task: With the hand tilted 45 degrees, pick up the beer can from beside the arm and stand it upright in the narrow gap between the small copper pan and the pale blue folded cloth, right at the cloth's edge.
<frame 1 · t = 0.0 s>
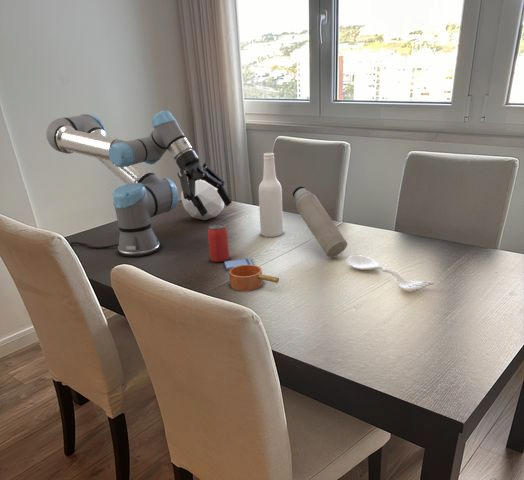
hand: (217, 209, 171), 15 cm above the table, tool tilted 35°, fingers open, 13 cm apart
thermos bottle: (337, 249, 165), point 3 cm above the table
pan: (246, 284, 152), on the table
spoon: (384, 278, 151), on the table
alcohol: (271, 234, 194), on the table
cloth: (238, 265, 166), on the table
geometric orb: (205, 218, 217), on the table
beer can: (220, 260, 172), on the table
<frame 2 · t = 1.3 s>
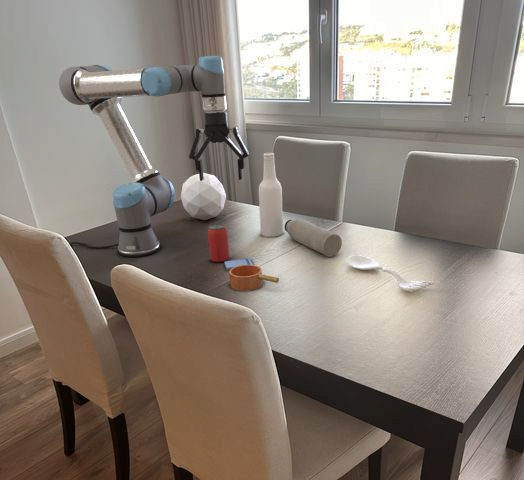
hand: (221, 179, 169), 25 cm above the table, tool pointing down, fingers open, 13 cm apart
thermos bottle: (332, 245, 167), point 4 cm above the table
everything else where it was.
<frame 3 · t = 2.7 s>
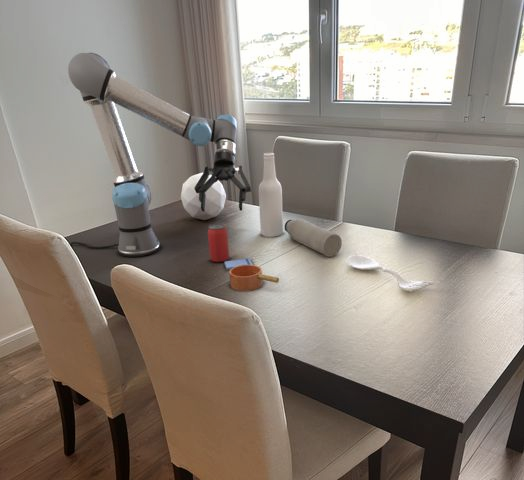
hand: (221, 209, 173), 15 cm above the table, tool tilted 45°, fingers open, 13 cm apart
nothing on the table moved.
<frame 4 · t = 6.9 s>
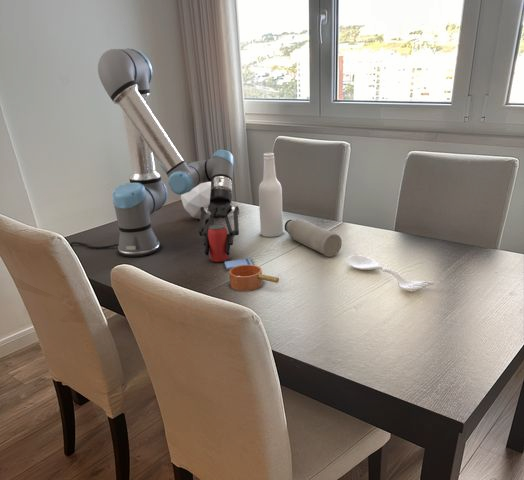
hand: (217, 253, 167), 4 cm above the table, tool tilted 45°, fingers closed on beer can, 7 cm apart
beer can: (220, 260, 172), on the table, touching gripper
everything else where it was.
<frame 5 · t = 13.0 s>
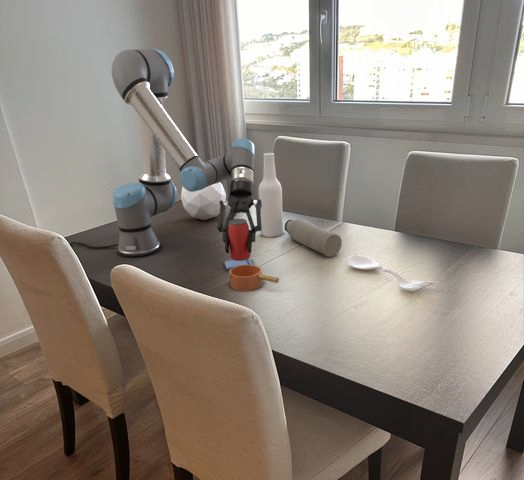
hand: (238, 250, 153), 9 cm above the table, tool tilted 45°, fingers closed on beer can, 7 cm apart
beer can: (240, 258, 158), point 5 cm above the table, touching gripper
everything else where it was.
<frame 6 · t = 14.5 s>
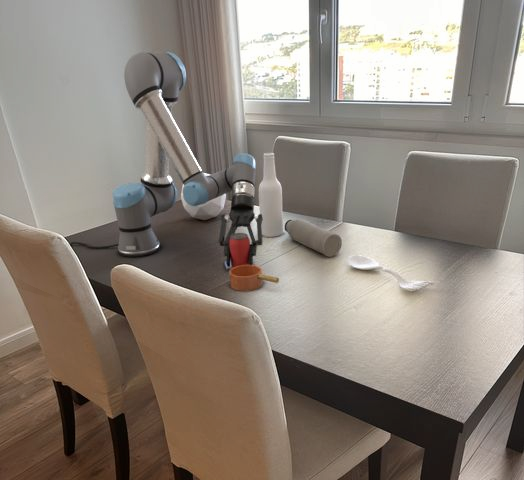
hand: (239, 264, 155), 4 cm above the table, tool tilted 45°, fingers closed on beer can, 7 cm apart
beer can: (241, 271, 160), on the table, touching gripper
everything else where it was.
when the fingers open (5 cm above the table, at t = 19.2 s): beer can drops 1 cm, on the table.
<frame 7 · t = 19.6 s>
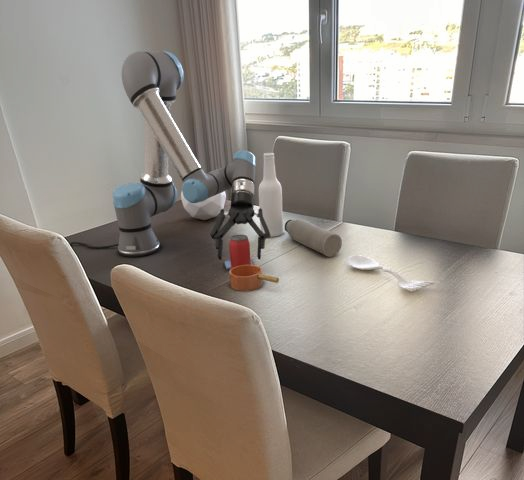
hand: (239, 258, 155), 6 cm above the table, tool tilted 45°, fingers open, 12 cm apart
beer can: (241, 273, 161), on the table
everything else where it was.
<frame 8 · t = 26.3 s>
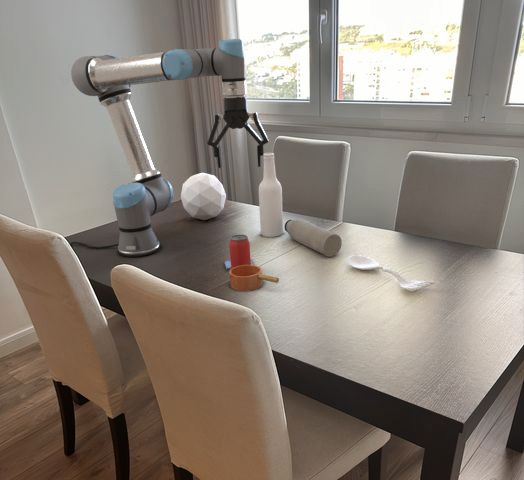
hand: (239, 166, 166), 29 cm above the table, tool pointing down, fingers open, 13 cm apart
nothing on the table moved.
at the end: beer can 0.1 cm from the target spot, on the table; beer can tilted 0°; the gripper is holding nothing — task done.
